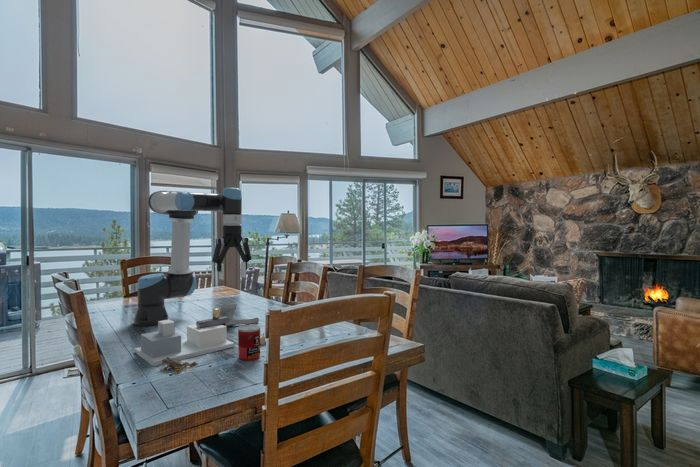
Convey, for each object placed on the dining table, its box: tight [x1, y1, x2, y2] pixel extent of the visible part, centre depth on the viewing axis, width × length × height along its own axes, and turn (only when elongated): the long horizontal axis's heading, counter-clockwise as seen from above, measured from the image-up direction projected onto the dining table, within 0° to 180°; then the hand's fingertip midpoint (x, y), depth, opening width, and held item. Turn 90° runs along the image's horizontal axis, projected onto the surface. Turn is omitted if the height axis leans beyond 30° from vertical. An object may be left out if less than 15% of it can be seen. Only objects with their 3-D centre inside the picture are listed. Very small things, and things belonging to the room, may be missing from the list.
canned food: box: [237, 324, 261, 362], centre depth 143 cm, size 8×8×11 cm
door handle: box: [219, 303, 260, 328], centre depth 191 cm, size 18×8×20 cm
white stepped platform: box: [134, 319, 235, 367], centre depth 152 cm, size 20×30×12 cm, turn 135°
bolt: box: [196, 307, 229, 328], centre depth 159 cm, size 3×12×6 cm, turn 135°
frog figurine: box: [161, 357, 199, 374], centre depth 132 cm, size 12×12×4 cm
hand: (232, 278), depth 165 cm, fingers open, 9 cm apart
